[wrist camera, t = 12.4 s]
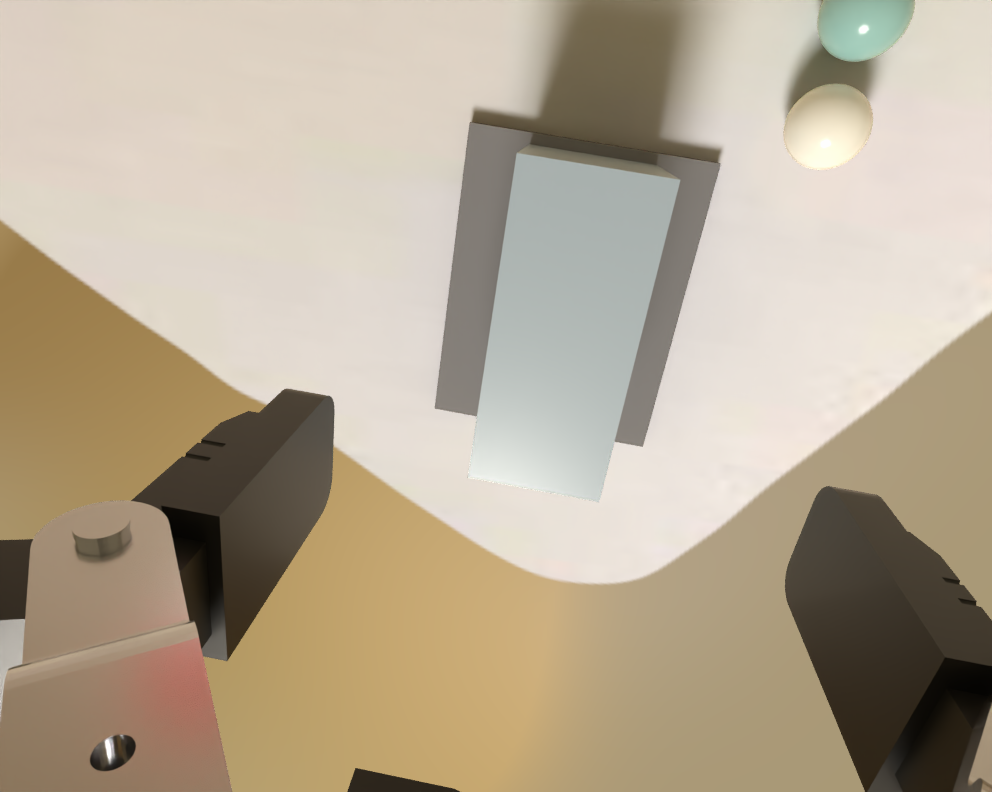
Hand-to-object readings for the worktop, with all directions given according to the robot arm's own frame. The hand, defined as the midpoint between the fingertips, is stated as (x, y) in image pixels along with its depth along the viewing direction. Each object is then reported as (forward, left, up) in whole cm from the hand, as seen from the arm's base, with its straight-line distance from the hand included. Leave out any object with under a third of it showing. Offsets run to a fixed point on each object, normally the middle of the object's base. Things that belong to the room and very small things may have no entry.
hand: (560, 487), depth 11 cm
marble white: (-7, +9, -22) cm, 25 cm away
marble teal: (-11, +9, -22) cm, 26 cm away
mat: (+2, 0, -22) cm, 22 cm away
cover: (+2, 0, -21) cm, 21 cm away
